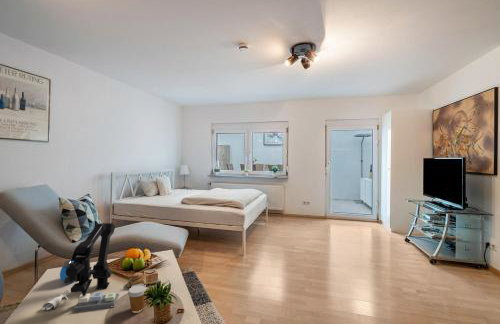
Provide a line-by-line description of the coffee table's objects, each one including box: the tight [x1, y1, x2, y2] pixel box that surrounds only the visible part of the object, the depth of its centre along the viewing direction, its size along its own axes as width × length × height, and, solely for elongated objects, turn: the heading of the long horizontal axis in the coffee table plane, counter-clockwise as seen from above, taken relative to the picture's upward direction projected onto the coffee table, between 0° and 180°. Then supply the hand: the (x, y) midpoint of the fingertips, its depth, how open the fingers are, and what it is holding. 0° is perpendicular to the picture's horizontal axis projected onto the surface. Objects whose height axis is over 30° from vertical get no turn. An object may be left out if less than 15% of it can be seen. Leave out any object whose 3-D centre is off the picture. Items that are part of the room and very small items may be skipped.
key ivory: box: [77, 292, 91, 303], centre depth 136 cm, size 4×4×2 cm
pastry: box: [127, 272, 145, 289], centre depth 158 cm, size 13×15×8 cm
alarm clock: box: [59, 256, 79, 284], centre depth 160 cm, size 13×6×15 cm, turn 178°
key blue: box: [91, 291, 104, 301], centre depth 137 cm, size 4×4×2 cm
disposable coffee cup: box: [127, 284, 148, 311], centre depth 133 cm, size 10×10×12 cm
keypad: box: [73, 293, 120, 313], centre depth 138 cm, size 11×19×2 cm, turn 106°
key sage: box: [105, 292, 117, 302], centre depth 139 cm, size 4×4×2 cm
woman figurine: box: [41, 290, 70, 311], centre depth 138 cm, size 12×4×18 cm
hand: (84, 295), depth 136 cm, fingers closed
